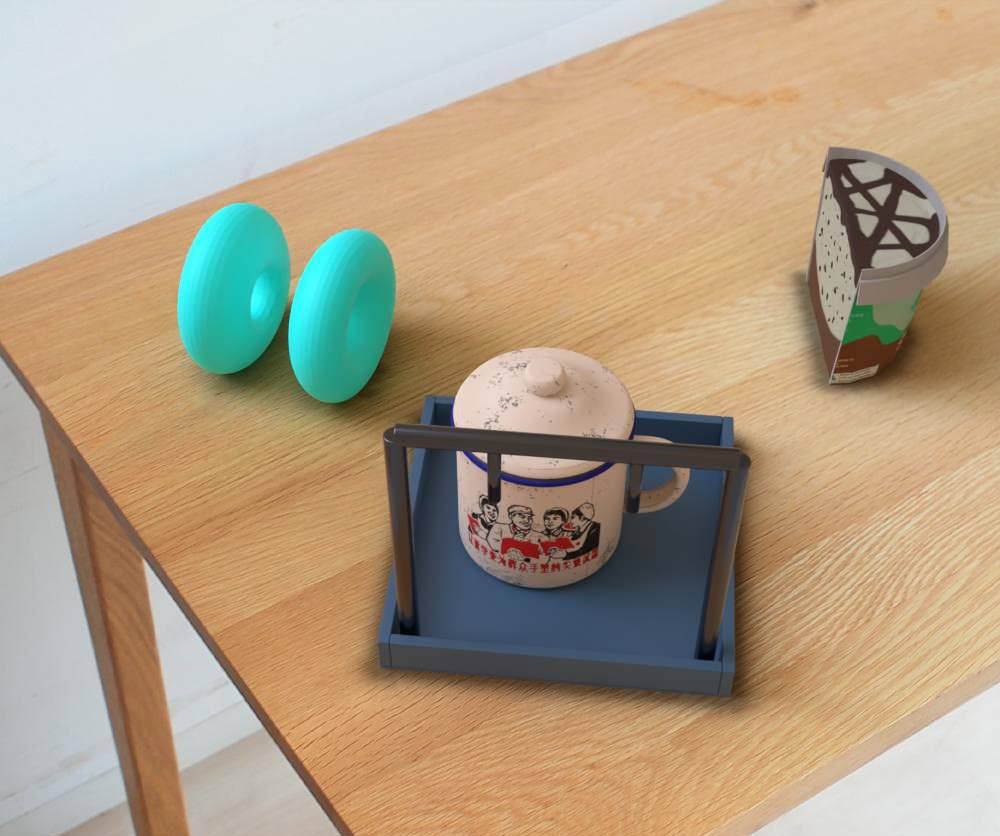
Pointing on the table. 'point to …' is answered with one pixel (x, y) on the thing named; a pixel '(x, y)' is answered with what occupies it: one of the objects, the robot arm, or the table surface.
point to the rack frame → (572, 449)
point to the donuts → (263, 297)
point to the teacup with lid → (548, 468)
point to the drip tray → (571, 586)
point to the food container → (871, 258)
